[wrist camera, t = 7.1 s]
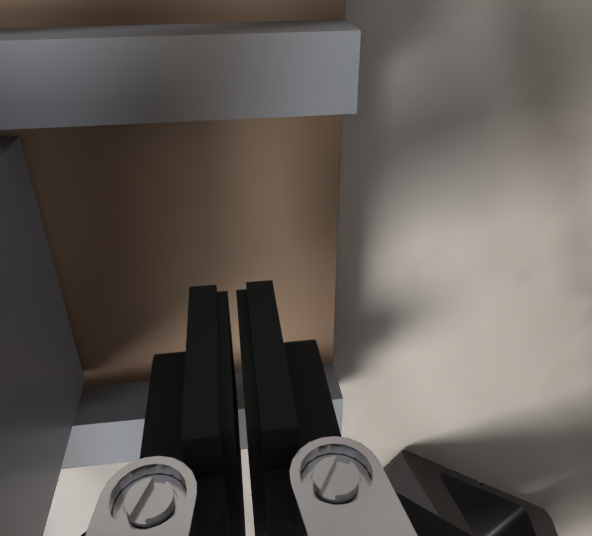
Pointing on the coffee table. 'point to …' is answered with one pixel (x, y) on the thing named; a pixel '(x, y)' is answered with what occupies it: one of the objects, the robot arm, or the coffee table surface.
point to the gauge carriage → (31, 356)
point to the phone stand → (466, 500)
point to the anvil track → (178, 176)
